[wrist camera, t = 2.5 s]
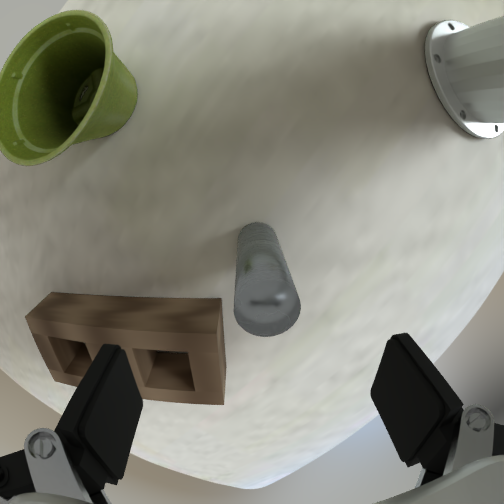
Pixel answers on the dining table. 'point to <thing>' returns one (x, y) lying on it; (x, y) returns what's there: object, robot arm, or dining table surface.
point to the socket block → (137, 342)
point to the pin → (263, 284)
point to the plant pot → (62, 88)
